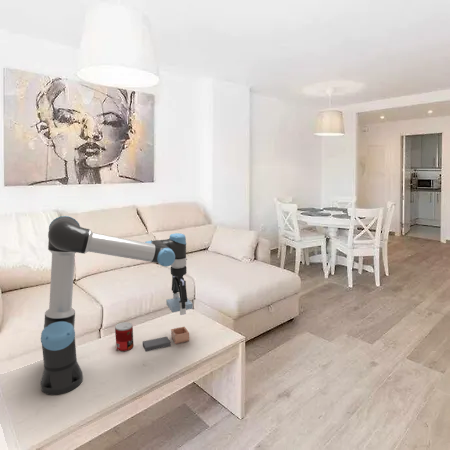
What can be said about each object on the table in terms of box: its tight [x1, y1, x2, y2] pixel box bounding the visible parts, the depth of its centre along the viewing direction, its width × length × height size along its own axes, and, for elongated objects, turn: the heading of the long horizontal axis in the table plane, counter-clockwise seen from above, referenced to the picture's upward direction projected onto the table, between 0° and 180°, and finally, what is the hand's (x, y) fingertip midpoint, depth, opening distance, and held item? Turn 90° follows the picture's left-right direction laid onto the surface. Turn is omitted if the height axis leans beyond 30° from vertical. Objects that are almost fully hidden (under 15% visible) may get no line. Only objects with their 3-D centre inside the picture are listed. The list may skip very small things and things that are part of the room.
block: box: [142, 336, 172, 352], centre depth 166 cm, size 12×6×2 cm, turn 115°
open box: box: [170, 326, 190, 345], centre depth 171 cm, size 7×7×4 cm
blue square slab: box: [165, 297, 194, 313], centre depth 168 cm, size 10×10×2 cm
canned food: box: [114, 321, 134, 352], centre depth 164 cm, size 8×8×11 cm
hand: (179, 309), depth 169 cm, fingers closed on blue square slab, 10 cm apart
